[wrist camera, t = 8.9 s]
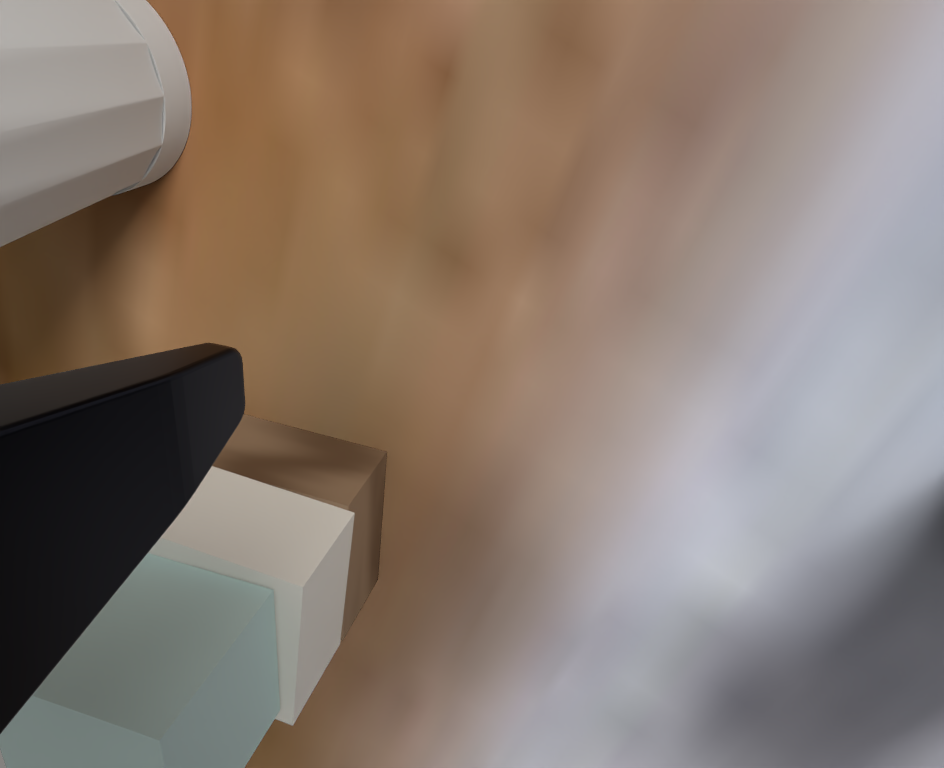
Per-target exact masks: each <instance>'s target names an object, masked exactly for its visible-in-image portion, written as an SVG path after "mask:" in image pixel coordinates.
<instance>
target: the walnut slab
mask: <svg viewBox="0 0 944 768" xmlns="http://www.w3.org/2000/svg"><path fill="white" fill-rule="evenodd" d="M386 459H387V452H386V451H382V450H378V449H375V448H371V447H367V446H363V445H359V444H356V443H352V442H348V441H344V440H340V439H337V438H333V437H329V436H325V435H321V434H317V433H314V432H310V431H306V430H302V429H298V428H295V427H291V426H287V425H283V424H279V423H275V422H272V421H268V420H264V419H260V418H256V417H253V416H249V415H245V414H243V417H242V419H241V421H240V423H239V425H238V426H237V428H236V430H235V431H234V433H233V434H232V436H231V437H230V439H229V440H228V442H227V443H226V445H225V447H224V448H223V450H222V451H221V453H220V454H219V456H218V457H217V459H216V461H215V462H214V464H213V465H212V466H213V467H217V468H220V469H223V470H226V471H229V472H232V473H235V474H238V475H241V476H244V477H247V478H250V479H253V480H256V481H259V482H262V483H265V484H268V485H271V486H274V487H278V488H281V489H284V490H287V491H290V492H293V493H296V494H299V495H302V496H305V497H308V498H311V499H314V500H317V501H320V502H324V503H327V504H330V505H333V506H336V507H339V508H342V509H345V510H348V511H351V512H354V513H355V516H354V524H353V533H352V542H351V551H350V560H349V569H348V578H347V586H346V595H345V604H344V613H343V622H342V631H341V640H342V641H343V639H344V638H345V636H346V634H347V632H348V631H349V629H350V627H351V625H352V624H353V622H354V620H355V618H356V617H357V615H358V613H359V611H360V610H361V608H362V606H363V604H364V603H365V601H366V599H367V597H368V596H369V594H370V592H371V590H372V589H373V587H374V585H375V583H376V582H377V580H378V572H379V558H380V544H381V530H382V516H383V502H384V488H385V473H386Z"/></svg>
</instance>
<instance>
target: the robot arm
mask: <svg viewBox="0 0 944 768" xmlns="http://www.w3.org/2000/svg"><path fill="white" fill-rule="evenodd" d="M244 410H245V392H244V377H243V363H242V357H241V355H240V353H239V352H238V351H237V350H236V349H235V348H232V347H228V346H223V345H219V344H214V343H204V344H199V345H194V346H189V347H184V348H179V349H174V350H169V351H165V352H160V353H155V354H150V355H145V356H140V357H135V358H130V359H125V360H120V361H115V362H110V363H105V364H100V365H95V366H90V367H85V368H81V369H76V370H71V371H66V372H61V373H56V374H51V375H46V376H41V377H36V378H31V379H26V380H21V381H16V382H11V383H6V384H1V385H0V734H1V733H2V732H3V730H4V729H5V728H6V727H7V726H8V724H9V723H10V722H11V721H12V719H13V718H14V717H15V716H16V715H17V713H18V712H19V711H20V710H21V708H22V707H23V706H24V705H25V703H26V702H27V701H28V700H29V699H30V697H31V696H32V695H33V694H34V692H35V691H36V690H37V689H38V687H39V686H40V685H41V684H42V683H43V681H44V680H45V679H46V678H47V676H48V675H49V674H50V673H51V671H52V670H53V669H54V668H55V667H56V665H57V664H58V663H59V662H60V660H61V659H62V658H63V657H64V655H65V654H66V653H67V652H68V651H69V649H70V648H71V647H72V646H73V644H74V643H75V642H76V641H77V640H78V638H79V637H80V636H81V635H82V633H83V632H84V631H85V630H86V628H87V627H88V626H89V625H90V624H91V622H92V621H93V620H94V619H95V617H96V616H97V615H98V614H99V612H100V611H101V610H102V609H103V608H104V606H105V605H106V604H107V603H108V601H109V600H110V599H111V598H112V596H113V595H114V594H115V593H116V592H117V590H118V589H119V588H120V587H121V585H122V584H123V583H124V582H125V581H126V579H127V578H128V577H129V576H130V574H131V573H132V572H133V571H134V569H135V568H136V567H137V566H138V565H139V563H140V562H141V561H142V560H143V558H144V557H145V556H146V555H147V553H148V552H149V551H150V550H151V549H152V547H153V546H154V545H155V544H156V542H157V541H158V540H159V539H160V537H161V536H162V535H163V534H164V533H165V531H166V530H167V529H168V528H169V526H170V525H171V524H172V523H173V522H174V520H175V519H176V518H177V516H178V515H179V514H180V512H181V511H182V510H183V509H184V507H185V506H186V505H187V503H188V502H189V500H190V499H191V497H192V496H193V494H194V493H195V492H196V490H197V488H198V487H199V485H200V484H201V482H202V481H203V479H204V478H205V476H206V475H207V473H208V471H209V470H210V468H211V467H212V465H213V464H214V462H215V461H216V459H217V457H218V456H219V454H220V453H221V451H222V450H223V448H224V447H225V445H226V443H227V442H228V440H229V439H230V437H231V436H232V434H233V433H234V431H235V430H236V428H237V426H238V425H239V423H240V421H241V419H242V417H243V414H244Z"/></svg>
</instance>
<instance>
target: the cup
mask: <svg viewBox="0 0 944 768" xmlns="http://www.w3.org/2000/svg"><path fill="white" fill-rule="evenodd" d="M191 110H192V107H191V92H190V85H189V80H188V76H187V72H186V68H185V65H184V62H183V59H182V56H181V54H180V51H179V49H178V47H177V45H176V42H175V40H174V38H173V37H172V35H171V33H170V31H169V30H168V28H167V26H166V25H165V23H164V22H163V20H162V19H161V17H160V16H159V15H158V14H157V12H156V11H155V10H154V9H153V7H152V6H151V5H150V4H149V3H148V2H147V1H146V0H0V247H2V246H4V245H6V244H8V243H10V242H12V241H15V240H17V239H19V238H21V237H23V236H25V235H27V234H30V233H32V232H34V231H36V230H38V229H40V228H43V227H45V226H47V225H49V224H51V223H53V222H55V221H58V220H60V219H62V218H64V217H66V216H68V215H71V214H73V213H75V212H77V211H79V210H81V209H83V208H86V207H88V206H90V205H92V204H94V203H96V202H99V201H101V200H103V199H105V198H107V197H109V196H113V195H117V194H120V193H123V192H126V191H129V190H132V189H135V188H138V187H141V186H144V185H147V184H150V183H152V182H154V181H156V180H158V179H159V178H161V177H162V176H164V175H165V174H166V173H167V172H168V171H169V170H170V169H171V168H172V167H173V166H174V165H175V163H176V162H177V160H178V159H179V157H180V155H181V154H182V152H183V149H184V147H185V144H186V142H187V138H188V135H189V130H190V124H191Z"/></svg>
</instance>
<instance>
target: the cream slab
mask: <svg viewBox="0 0 944 768" xmlns="http://www.w3.org/2000/svg"><path fill="white" fill-rule="evenodd" d="M354 516H355V513H354V512H351V511H348V510H345V509H342V508H339V507H336V506H333V505H330V504H327V503H324V502H320V501H317V500H314V499H311V498H308V497H305V496H302V495H299V494H296V493H293V492H290V491H287V490H284V489H281V488H278V487H274V486H271V485H268V484H265V483H262V482H259V481H256V480H253V479H250V478H247V477H244V476H241V475H238V474H235V473H232V472H229V471H226V470H223V469H220V468H217V467H213V466H212V467H211V468H210V470H209V471H208V473H207V475H206V476H205V478H204V479H203V481H202V482H201V484H200V485H199V487H198V488H197V490H196V492H195V493H194V494H193V496H192V497H191V499H190V500H189V502H188V503H187V505H186V506H185V507H184V509H183V510H182V511H181V512H180V514H179V515H178V516H177V518H176V519H175V520H174V522H173V523H172V524H171V525H170V526H169V528H168V529H167V530H166V531H165V533H164V534H163V535H162V536H161V537H160V539H159V540H158V541H157V542H156V544H155V545H154V546H153V547H152V549H151V550H150V551H149V552H148V553H150V554H153V555H157V556H160V557H163V558H167V559H170V560H174V561H177V562H180V563H184V564H187V565H191V566H194V567H197V568H201V569H204V570H208V571H211V572H214V573H218V574H221V575H225V576H228V577H231V578H235V579H238V580H242V581H245V582H248V583H252V584H255V585H259V586H262V587H265V588H269V589H272V590H274V606H275V624H276V643H277V661H278V679H279V698H280V711H279V713H278V714H277V716H276V717H275V719H277V720H279V721H282V722H284V723H287V724H290V725H292V726H293V725H294V723H295V721H296V719H297V718H298V716H299V714H300V712H301V711H302V709H303V707H304V705H305V704H306V702H307V700H308V699H309V697H310V695H311V693H312V692H313V690H314V688H315V686H316V685H317V683H318V681H319V679H320V678H321V676H322V674H323V673H324V671H325V669H326V667H327V666H328V664H329V662H330V660H331V659H332V657H333V655H334V654H335V652H336V650H337V648H338V647H339V645H340V640H341V631H342V622H343V613H344V604H345V595H346V586H347V578H348V569H349V560H350V551H351V542H352V533H353V524H354Z"/></svg>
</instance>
